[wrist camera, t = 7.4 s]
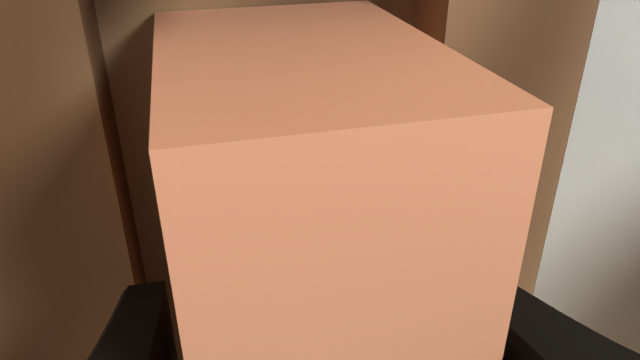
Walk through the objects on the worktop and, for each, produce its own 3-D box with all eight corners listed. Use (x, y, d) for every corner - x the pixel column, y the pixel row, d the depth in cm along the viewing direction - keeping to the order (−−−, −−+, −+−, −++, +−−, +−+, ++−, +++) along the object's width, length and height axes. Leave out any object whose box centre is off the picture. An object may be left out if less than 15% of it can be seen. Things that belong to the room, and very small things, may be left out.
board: (578, -245, 10) (874, -337, 6) (461, 423, 19) (547, 586, 14) (-183, -281, 8) (-623, -481, 3) (81, 503, 16) (48, 726, 12)
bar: (355, 370, 16) (450, 611, 10) (210, 400, 15) (236, 677, 10) (367, 0, 11) (553, 107, 6) (154, 12, 10) (147, 150, 5)
